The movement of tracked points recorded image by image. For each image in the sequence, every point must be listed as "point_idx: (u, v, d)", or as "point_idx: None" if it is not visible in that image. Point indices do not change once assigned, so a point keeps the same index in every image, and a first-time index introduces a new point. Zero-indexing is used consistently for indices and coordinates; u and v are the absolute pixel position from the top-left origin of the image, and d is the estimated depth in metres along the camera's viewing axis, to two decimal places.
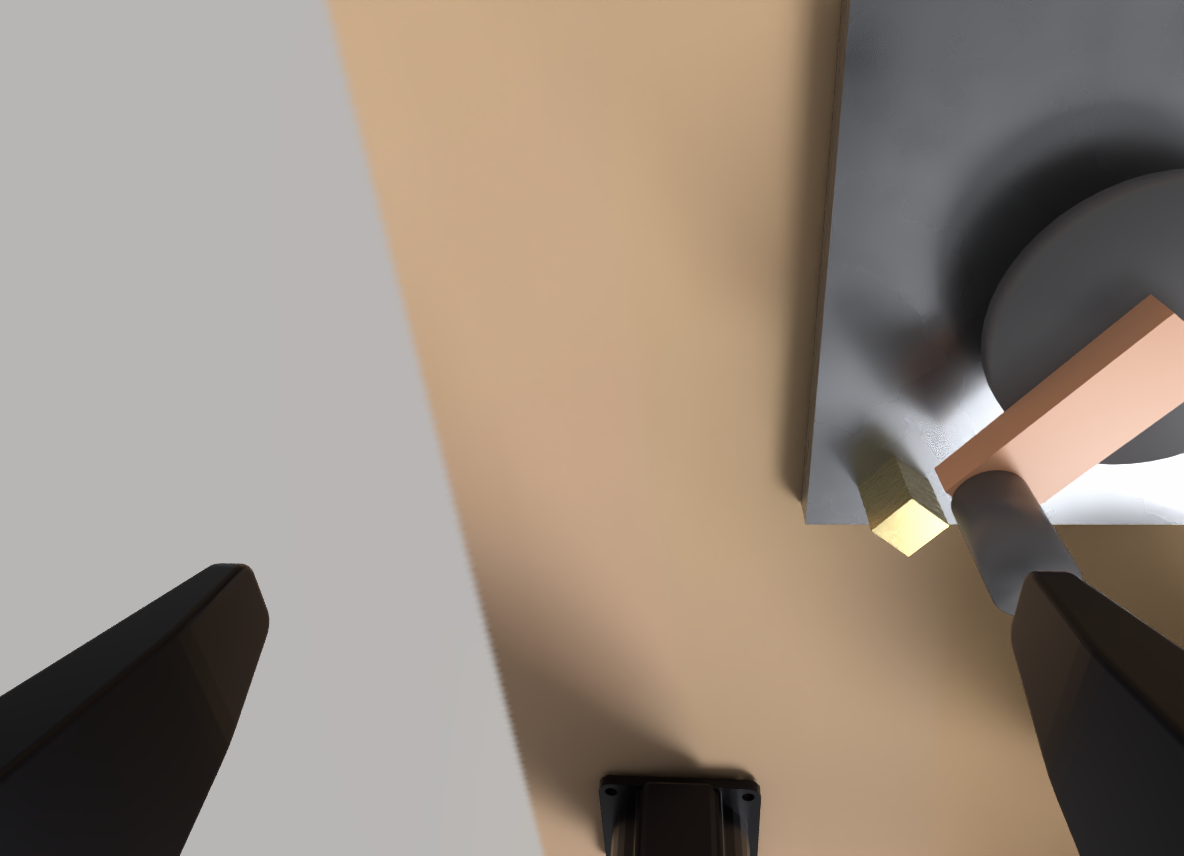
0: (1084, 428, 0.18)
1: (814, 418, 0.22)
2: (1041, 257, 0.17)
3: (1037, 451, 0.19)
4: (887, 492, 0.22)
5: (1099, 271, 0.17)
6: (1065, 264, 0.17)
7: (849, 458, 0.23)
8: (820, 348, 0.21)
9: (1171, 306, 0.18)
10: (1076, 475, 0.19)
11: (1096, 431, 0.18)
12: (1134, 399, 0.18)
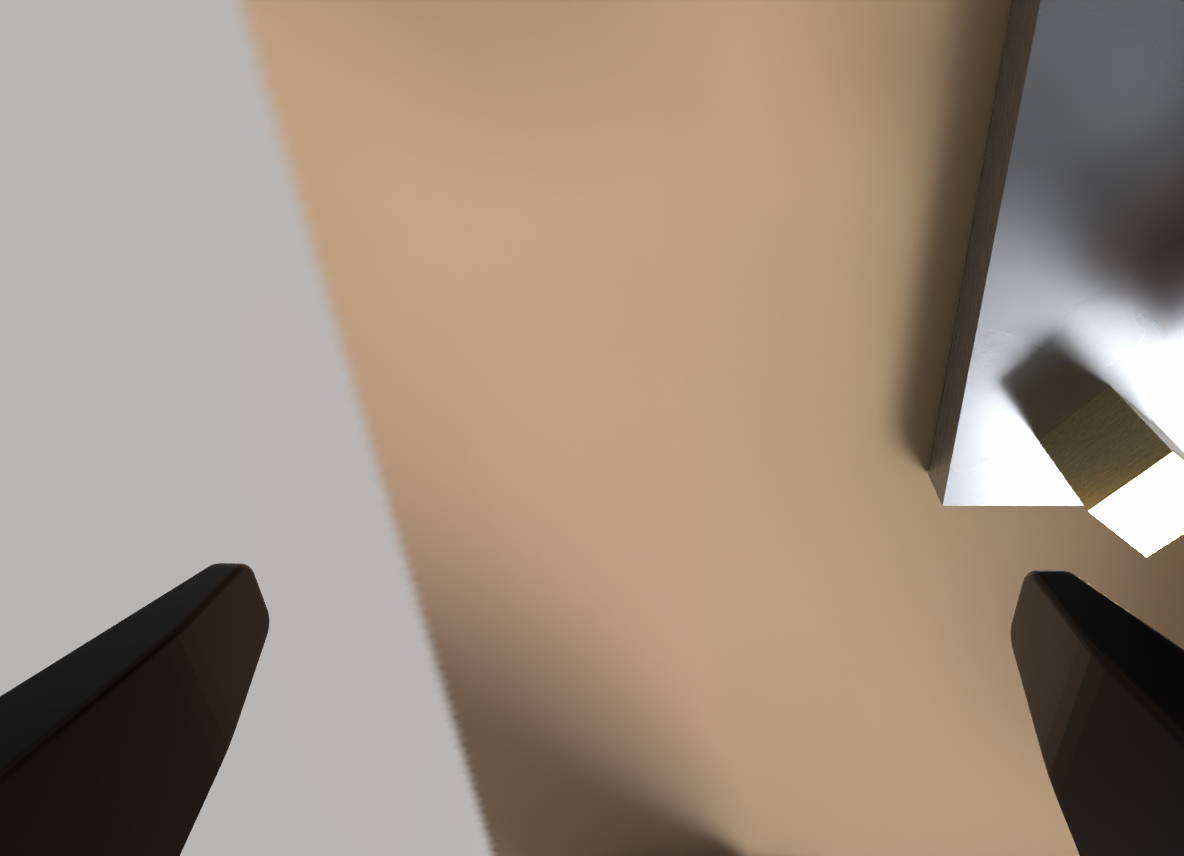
0: None
1: (977, 319, 0.13)
2: None
3: None
4: (1109, 445, 0.13)
5: None
6: None
7: (1030, 391, 0.14)
8: (1003, 184, 0.12)
9: None
10: None
11: None
12: None
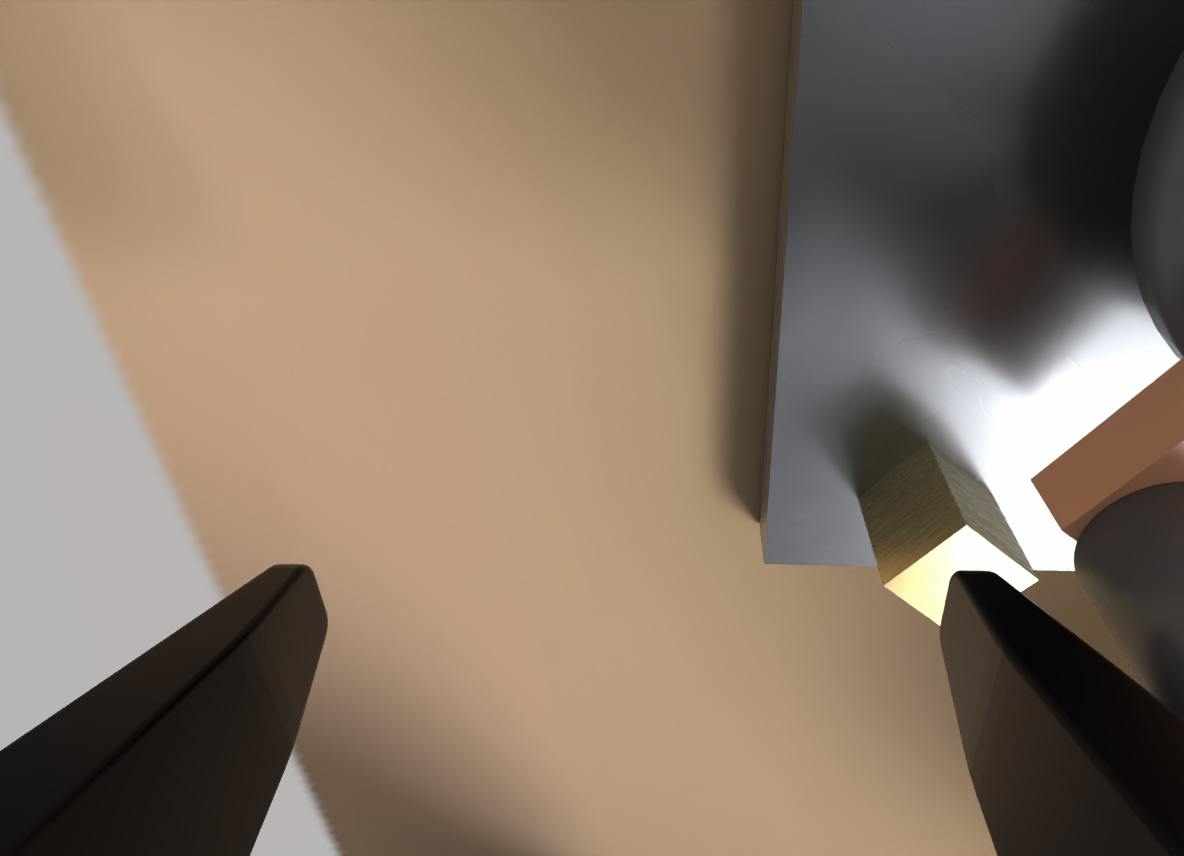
0: None
1: (777, 367, 0.12)
2: None
3: None
4: (914, 510, 0.11)
5: None
6: None
7: (843, 445, 0.12)
8: (787, 222, 0.11)
9: None
10: None
11: None
12: None
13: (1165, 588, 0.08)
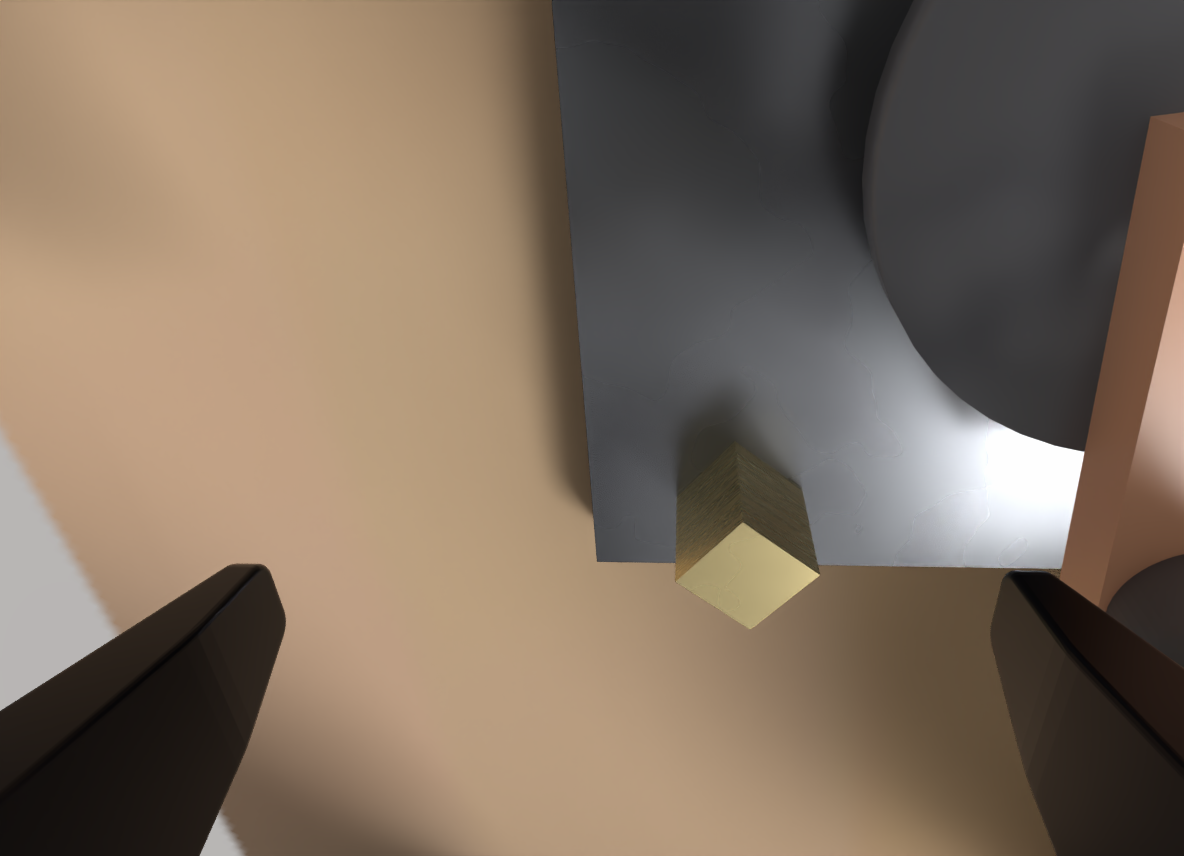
0: None
1: (583, 370, 0.12)
2: (882, 230, 0.09)
3: None
4: (711, 508, 0.12)
5: (1005, 168, 0.08)
6: (929, 208, 0.08)
7: (655, 445, 0.13)
8: (571, 229, 0.11)
9: None
10: None
11: None
12: None
13: None
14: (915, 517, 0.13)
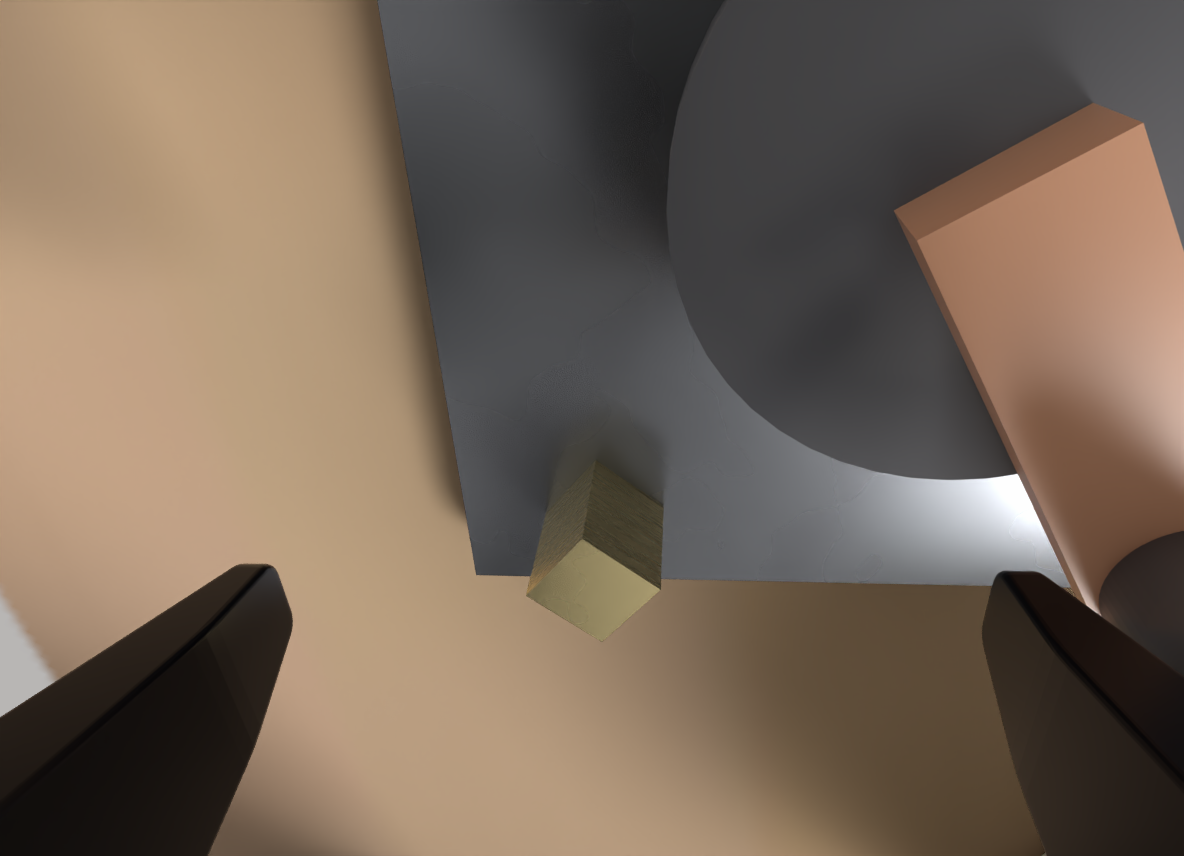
0: (1114, 422, 0.08)
1: (446, 391, 0.13)
2: (728, 372, 0.10)
3: (1115, 502, 0.09)
4: (565, 525, 0.12)
5: (796, 294, 0.09)
6: (754, 345, 0.09)
7: (520, 464, 0.13)
8: (423, 257, 0.11)
9: (946, 170, 0.08)
10: None
11: (1136, 402, 0.08)
12: (1100, 328, 0.08)
13: None
14: (773, 534, 0.13)
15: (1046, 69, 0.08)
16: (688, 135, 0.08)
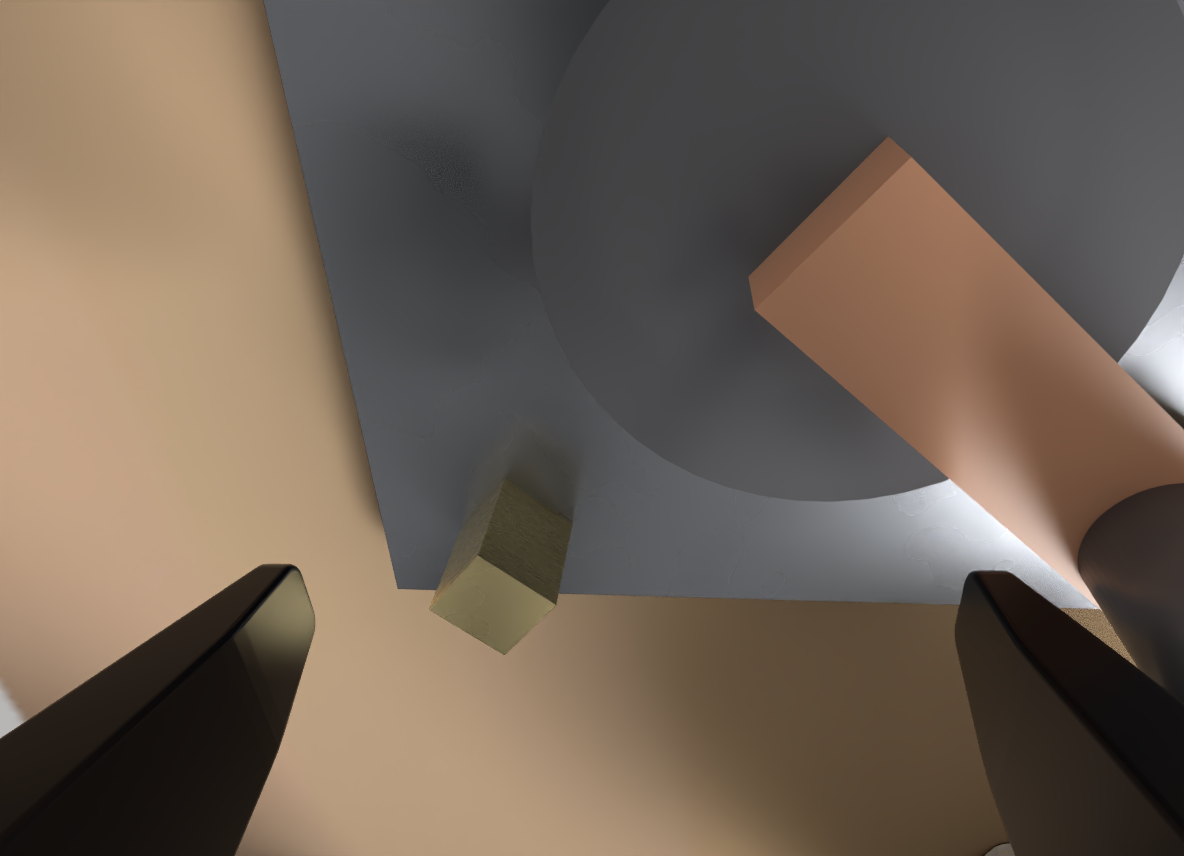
0: (1013, 413, 0.09)
1: (360, 411, 0.13)
2: (663, 449, 0.11)
3: (1052, 484, 0.09)
4: (470, 541, 0.13)
5: (693, 368, 0.10)
6: (675, 421, 0.10)
7: (433, 481, 0.14)
8: (330, 284, 0.12)
9: (781, 231, 0.09)
10: (1149, 407, 0.08)
11: (1027, 390, 0.08)
12: (958, 336, 0.08)
13: None
14: (679, 551, 0.14)
15: (832, 122, 0.08)
16: (546, 268, 0.09)
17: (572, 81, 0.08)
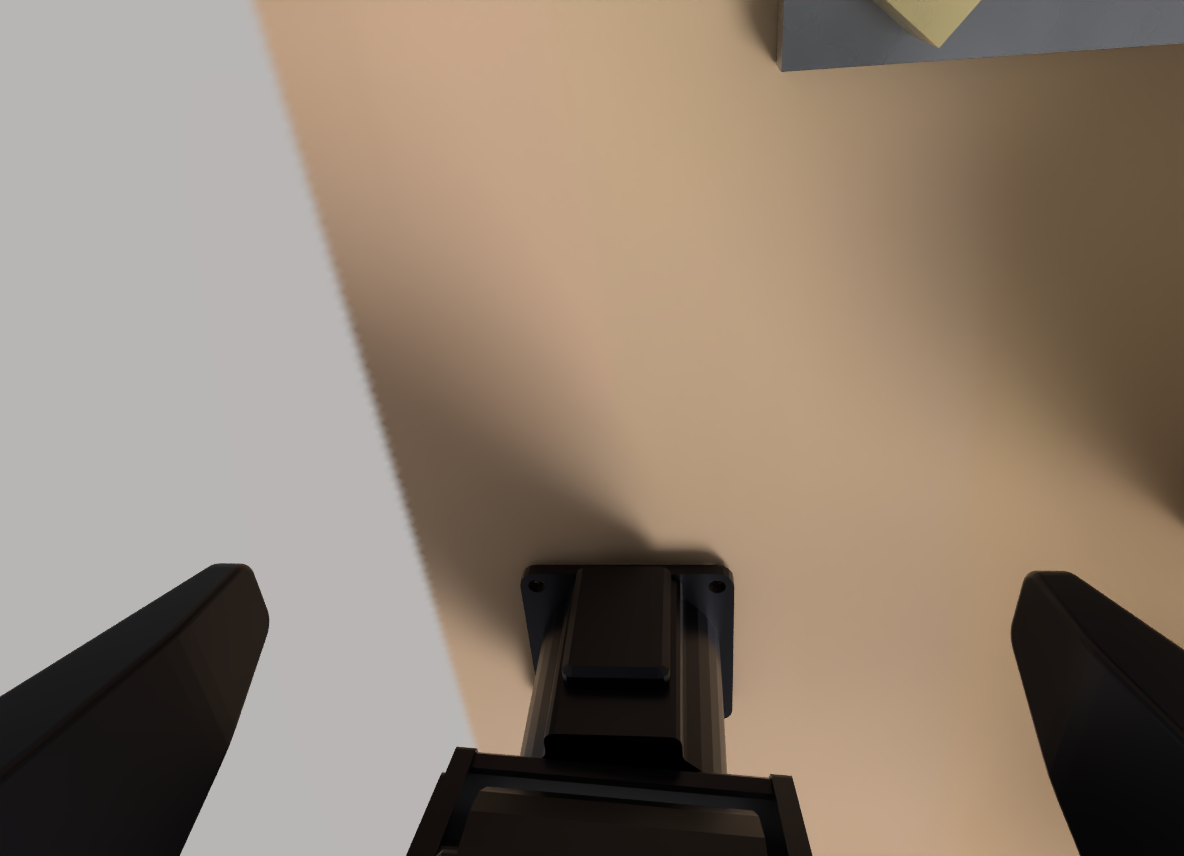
0: None
1: None
2: None
3: None
4: None
5: None
6: None
7: None
8: None
9: None
10: None
11: None
12: None
13: None
14: None
15: None
16: None
17: None
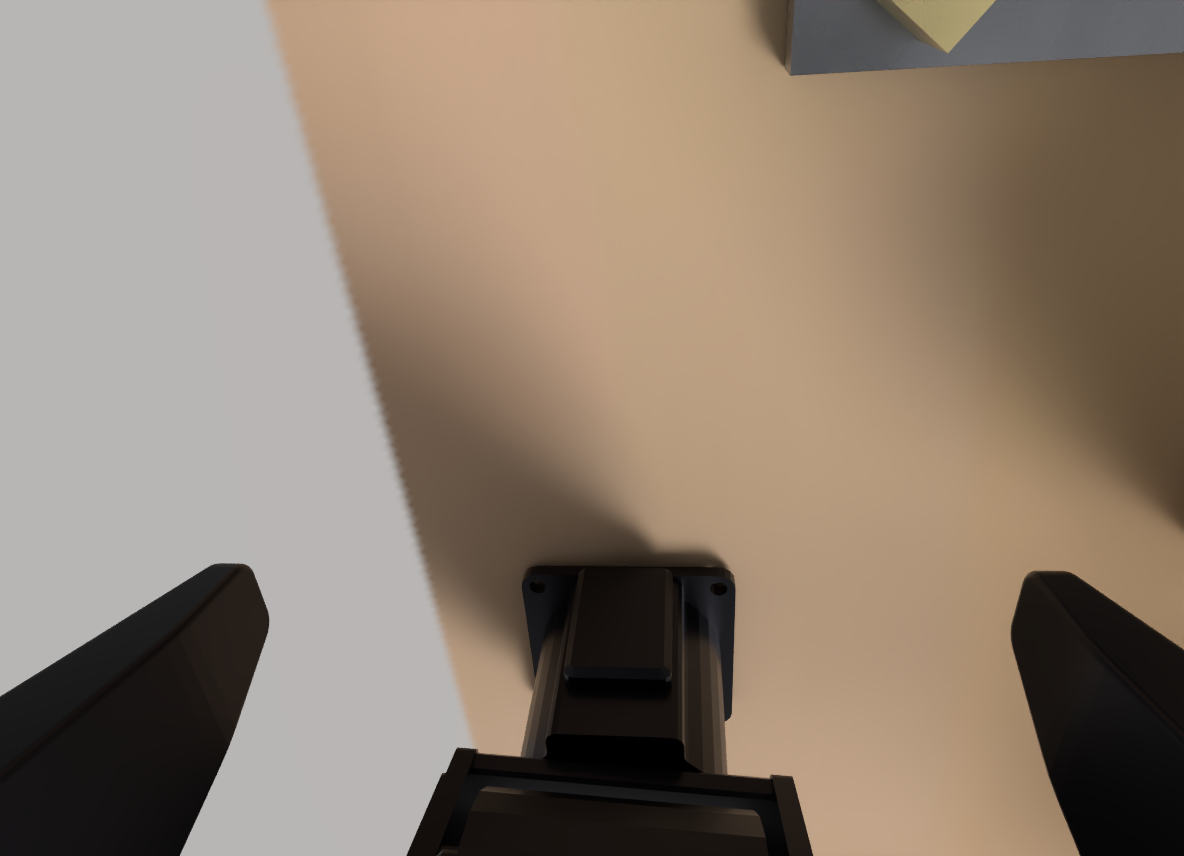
0: None
1: None
2: None
3: None
4: None
5: None
6: None
7: None
8: None
9: None
10: None
11: None
12: None
13: None
14: (1070, 1, 0.15)
15: None
16: None
17: None
